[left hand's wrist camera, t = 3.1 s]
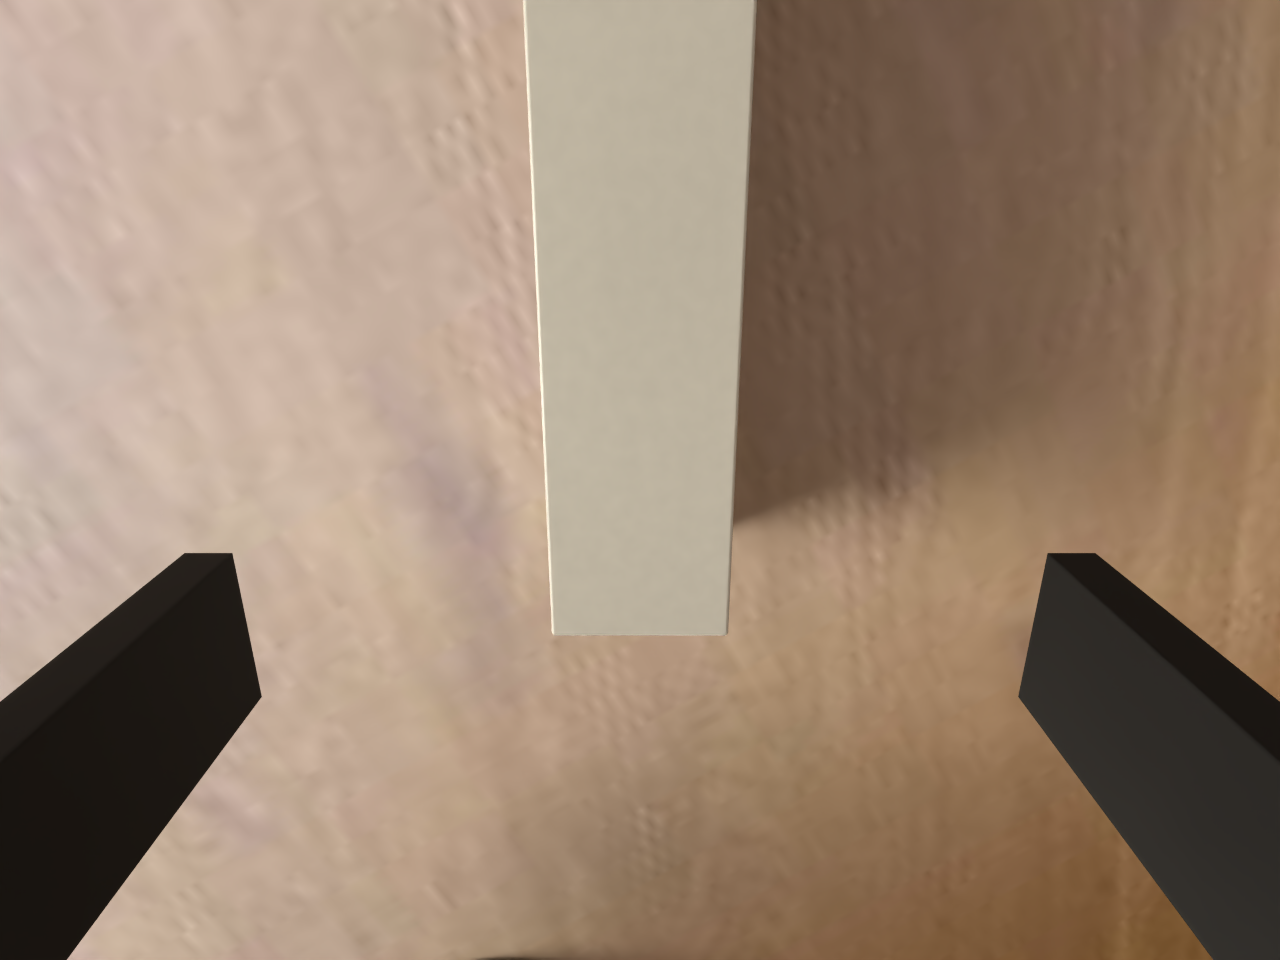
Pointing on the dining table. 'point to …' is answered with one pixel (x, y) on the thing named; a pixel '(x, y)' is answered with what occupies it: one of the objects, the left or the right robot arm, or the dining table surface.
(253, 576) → the dining table surface
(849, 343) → the dining table surface
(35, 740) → the left robot arm
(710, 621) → the post
